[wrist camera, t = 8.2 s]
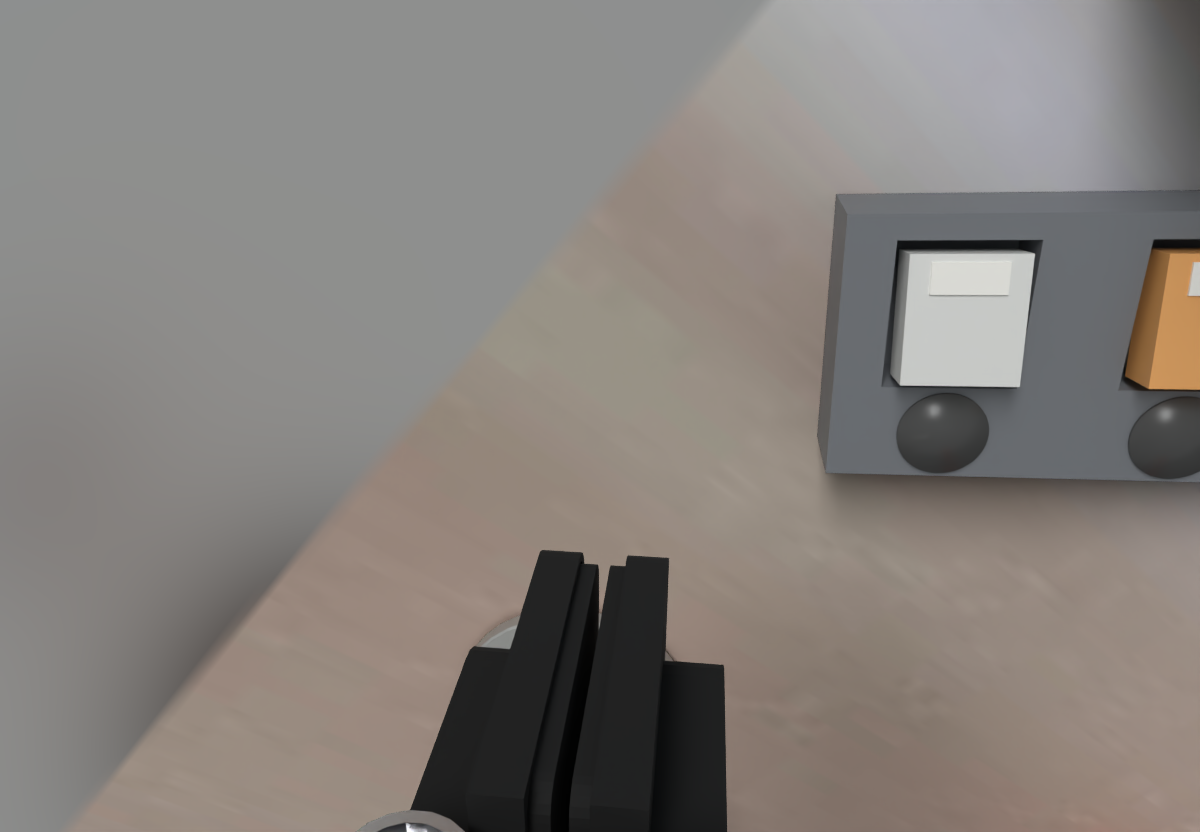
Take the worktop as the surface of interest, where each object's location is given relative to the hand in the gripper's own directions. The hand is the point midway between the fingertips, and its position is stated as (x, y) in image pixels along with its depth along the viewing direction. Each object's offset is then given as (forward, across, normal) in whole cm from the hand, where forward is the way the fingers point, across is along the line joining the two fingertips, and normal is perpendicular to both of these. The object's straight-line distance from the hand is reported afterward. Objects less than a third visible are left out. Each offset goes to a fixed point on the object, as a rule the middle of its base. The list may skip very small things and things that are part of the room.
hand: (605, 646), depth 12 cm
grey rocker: (+25, -11, +4) cm, 28 cm away
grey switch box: (+28, -16, +5) cm, 33 cm away
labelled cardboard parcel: (+25, -20, +3) cm, 32 cm away
